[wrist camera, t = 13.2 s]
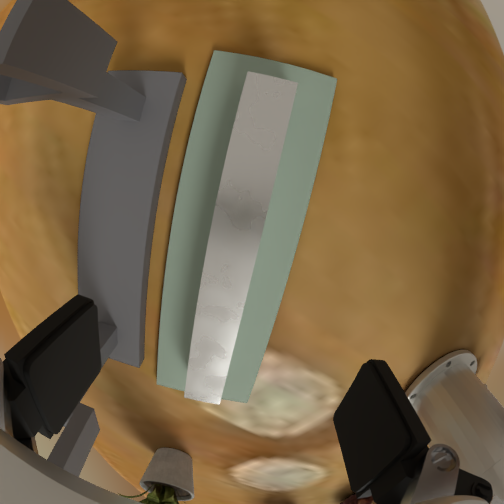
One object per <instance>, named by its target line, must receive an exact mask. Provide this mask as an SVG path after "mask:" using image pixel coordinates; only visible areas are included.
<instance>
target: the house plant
mask: <svg viewBox="0 0 504 504" xmlns="http://www.w3.org/2000/svg"><path fill="white" fill-rule="evenodd" d="M140 485H141V487H142V488H143V489H144V490H146V492H147V491H148V492H150V493H149V494H148V495H147V498H146V499H144V500H142V501H140V503H144V504H179V503H178V501H187V500H191V499H193V498H194V486H193V468H192V458H191V457H190V456H189V455H188V454H186V453H184V452H182V451H180V450H176V449H172V448H159V449H157V450H156V452H155V454H154V456H153V458H152V460H151V462H150V463H149V465H148V467H147V469H146V471H145V473H144V475H143V477H142V479H141V481H140ZM146 492H144V493H142V494H140V495H137V496H123V495H121V494H120V495H121V496H123V497H126V498H134V497H139V496H142V495H143V494H145V493H146Z"/></svg>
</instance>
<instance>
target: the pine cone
mask: <svg viewBox="0 0 504 504" xmlns="http://www.w3.org/2000/svg"><path fill="white" fill-rule="evenodd" d="M372 501H373V497H372V495H371V496H370V497H365V498H359V499H357V497H356V494H354V495H351V496H350V497H349V498H347V499H345V501H344V502H341V503H340V504H371V503H372Z"/></svg>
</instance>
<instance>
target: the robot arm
mask: <svg viewBox="0 0 504 504" xmlns="http://www.w3.org/2000/svg"><path fill="white" fill-rule="evenodd" d="M4 355H5V358H6V359H5V360H4V361H3V362H2V360H1V358H0V504H144V503H140V502H137V501H134V500H131V499H129V498H126V497H123V496H120V495H118V494H115V493H112V492H110V491H108V490H105V489H103V488H100V487H98V486H96V485H94V484H92V483H89V482H87V481H85V480H83V479H81V478H79V477H77V476H75V475H73V474H71V473H69V472H67V471H66V470H64V469H62V468H60V467H58V466H57V465H55V464H53V463H51V462H50V461H48V460H46V459H44V458H43V457H41V456H40V455H38V450H37V446H36V441H35V435H36V434H37V432H40V433H41V434H42V435H44V436H46V437H47V438H49V439H51V437H52V436H53V434H58V433H59V432H60V430H61V429H62V427H63V426H64V424H65V423H66V421H67V420H68V418H69V417H70V415H71V413H72V412H73V410H74V409H75V407H76V406H77V404H78V403H79V401H80V400H81V399H82V397H83V396H84V394H85V393H86V391H87V390H88V388H89V387H90V385H91V384H92V382H93V381H94V380H95V378H96V377H97V375H98V374H99V372H100V370H101V366H102V362H101V353H100V342H99V327H98V308H97V305H95V304H94V301H93V300H92V299H90V298H88V297H85V296H82V295H76V296H75V297H73V298H72V299H71V300H70V301H68V302H67V303H66V304H64V305H63V306H62V307H61V308H59V309H58V310H57V311H55V312H54V313H53V314H52V315H50V316H49V317H48V318H47V319H45V320H44V321H43V322H42V323H41V324H39V325H38V326H37V327H36V328H34V329H33V330H32V331H31V332H30V333H28V334H27V335H26V336H25V337H24V338H23V339H21V340H20V341H19V342H18V343H17V344H16V345H14V346H13V347H12V348H11V349H10V350H9V351H8V352H7V353H6V354H4ZM476 370H477V359H476V357H475V356H474V355H473V354H472V353H471V352H470V351H468V350H458V351H454V352H452V353H449V354H447V355H445V356H444V357H442V358H440V359H439V360H437V361H436V362H434V363H433V364H432V365H430V366H429V367H428V368H427V369H426V370H425V371H423V372H422V373H421V374H420V375H419V376H418V377H417V378H416V379H415V381H414V382H413V383H412V384H411V385H410V387H409V388H408V389H407V391H406V392H404V391H403V389H402V387H401V386H400V384H399V382H398V381H397V379H396V377H395V376H394V374H393V372H392V371H391V369H390V368H389V366H388V364H387V363H386V362H385V361H384V360H373V359H371V360H369V361H367V363H364V364H363V365H362V367H361V369H360V370H359V372H358V374H357V376H356V378H355V380H354V381H353V383H352V385H351V387H350V388H349V390H348V392H347V393H346V395H345V397H344V398H343V400H342V402H341V403H340V405H339V407H338V408H337V410H336V411H335V413H334V417H333V421H334V425H335V429H336V432H337V436H338V440H339V443H340V447H341V451H342V455H343V459H344V462H345V466H346V470H347V474H348V478H349V482H350V486H351V490H352V491H353V492H355V493H356V497H357V499H359V498H365V497H370V496H371V495H372V497H373V501H372V503H371V504H504V408H503V407H502V405H501V404H500V403H499V402H498V400H497V399H496V398H495V397H494V396H493V394H492V393H491V392H490V391H489V390H488V389H487V385H486V384H483V383H482V382H481V380H480V379H479V378H478V377H477V376H476V375H475V373H476ZM427 445H429V447H430V448H428V446H427Z"/></svg>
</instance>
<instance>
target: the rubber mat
mask: <svg viewBox="0 0 504 504" xmlns="http://www.w3.org/2000/svg"><path fill="white" fill-rule="evenodd" d="M248 71H249V72H254V73H259V74H264V75H268V76H273V77H277V78H281V79H285V80H289V81H293V82H297V83H298V86H297V90H296V94H295V98H294V103H293V107H292V111H291V115H290V120H289V124H288V128H287V132H286V137H285V141H284V145H283V149H282V153H281V157H280V162H279V166H278V170H277V174H276V178H275V183H274V187H273V191H272V195H271V199H270V203H269V207H268V212H267V216H266V220H265V224H264V228H263V232H262V236H261V240H260V244H259V249H258V253H257V257H256V261H255V265H254V269H253V273H252V277H251V281H250V285H249V289H248V293H247V297H246V301H245V305H244V309H243V313H242V317H241V321H240V326H239V330H238V334H237V338H236V342H235V346H234V350H233V354H232V357H231V361H230V365H229V369H228V373H227V377H226V381H225V385H224V389H223V393H222V397H221V399H224V400H230V401H236V402H243V403H247V402H248V399H249V397H250V394H251V391H252V388H253V385H254V382H255V379H256V377H257V374H258V371H259V368H260V365H261V362H262V359H263V356H264V353H265V350H266V347H267V344H268V341H269V338H270V334H271V331H272V328H273V325H274V322H275V319H276V316H277V312H278V309H279V306H280V303H281V299H282V296H283V293H284V289H285V286H286V283H287V279H288V276H289V273H290V269H291V266H292V262H293V259H294V255H295V252H296V248H297V245H298V241H299V237H300V234H301V230H302V226H303V223H304V219H305V215H306V211H307V208H308V204H309V200H310V196H311V192H312V188H313V184H314V180H315V176H316V172H317V168H318V164H319V160H320V156H321V151H322V147H323V143H324V138H325V134H326V130H327V125H328V121H329V116H330V111H331V107H332V102H333V97H334V92H335V87H336V82H337V79H336V78H333V77H330V76H327V75H324V74H321V73H318V72H315V71H311V70H308V69H305V68H301V67H297V66H294V65H290V64H286V63H282V62H278V61H273V60H269V59H264V58H259V57H254V56H249V55H243V54H237V53H231V52H224V51H216V50H214V53H213V56H212V59H211V62H210V65H209V68H208V71H207V75H206V78H205V81H204V85H203V88H202V91H201V95H200V99H199V102H198V106H197V110H196V113H195V117H194V121H193V125H192V129H191V133H190V137H189V141H188V146H187V150H186V154H185V159H184V163H183V168H182V173H181V178H180V183H179V188H178V193H177V198H176V204H175V209H174V215H173V221H172V227H171V234H170V240H169V247H168V254H167V262H166V269H165V278H164V286H163V296H162V306H161V317H160V329H159V344H158V363H157V384H158V385H162V386H165V387H169V388H173V389H177V390H181V391H185V386H186V378H187V370H188V362H189V355H190V347H191V340H192V334H193V327H194V320H195V314H196V308H197V301H198V295H199V289H200V283H201V278H202V272H203V266H204V261H205V255H206V250H207V245H208V239H209V234H210V229H211V224H212V219H213V214H214V209H215V204H216V200H217V195H218V190H219V186H220V181H221V176H222V172H223V168H224V163H225V159H226V154H227V150H228V146H229V142H230V138H231V134H232V129H233V125H234V121H235V117H236V113H237V110H238V106H239V102H240V98H241V94H242V91H243V87H244V83H245V79H246V76H247V72H248Z"/></svg>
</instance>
